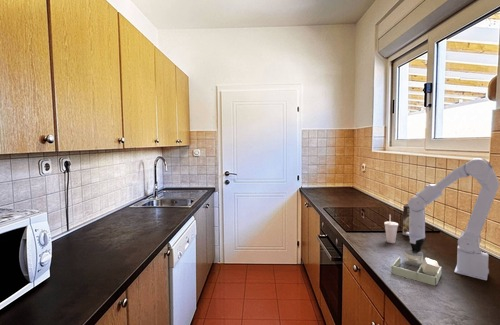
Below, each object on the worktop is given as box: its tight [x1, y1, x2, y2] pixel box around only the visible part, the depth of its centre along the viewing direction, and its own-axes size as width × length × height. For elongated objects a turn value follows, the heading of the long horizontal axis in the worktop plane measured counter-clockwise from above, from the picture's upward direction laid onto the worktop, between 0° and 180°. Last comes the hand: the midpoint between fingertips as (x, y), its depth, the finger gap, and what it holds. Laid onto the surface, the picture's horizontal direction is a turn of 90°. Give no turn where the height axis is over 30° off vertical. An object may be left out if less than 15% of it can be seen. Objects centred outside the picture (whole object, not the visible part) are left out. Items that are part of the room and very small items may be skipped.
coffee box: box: [402, 203, 410, 237], centre depth 147 cm, size 9×6×16 cm
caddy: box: [390, 256, 442, 287], centre depth 105 cm, size 14×11×3 cm
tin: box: [404, 248, 424, 268], centre depth 114 cm, size 7×7×5 cm
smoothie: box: [383, 214, 399, 244], centre depth 138 cm, size 6×6×14 cm
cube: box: [422, 257, 441, 276], centre depth 101 cm, size 4×4×4 cm
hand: (416, 255), depth 117 cm, fingers closed
